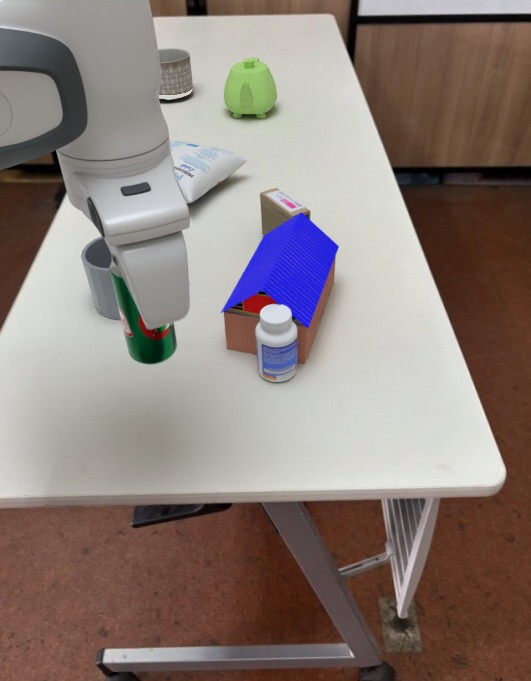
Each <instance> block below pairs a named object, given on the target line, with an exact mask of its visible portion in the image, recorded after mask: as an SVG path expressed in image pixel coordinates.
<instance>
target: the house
mask: <svg viewBox="0 0 531 681" xmlns="http://www.w3.org/2000/svg"><path fill="white" fill-rule="evenodd" d="M260 240H261V241H260V242H259V243H258V245H257V247H256V249H255V251H254V253H253V255H252V256H251V258H250V260H249V261H248V263H247V265H246V267H245V269H244V271H243V272H242V273H241V276H240V278H239V280H238V281H237V283H236V285H235V286H234V288H233V289H232V292H231V294H230V295H229V297H228V299H227V301H226V303H225V304H224V306H223V308H222V309H221V312H220V314H222V313H223V321H224V332H225V333H224V334H225V342H226V343H225V344H226V349H227V350H230V351H236V352H241V353H247V354H252V355H257V351H256V333H255V330H256V326H257V325H258V323H259V322H260V311H261V310H262V309H263V308H264V307H265V306H267V305H270V304H280V305H281V304H282V305H285V306H287V307H288V308H289V309H290V310H291V313H292V321H293V322H294V323H295V324H296V327H297V363H300V364H303V365H305V364H306V362H307V360H308V356H309V354H310V352H311V349H312V345H313V343H314V340H315V337H316V335H317V332H318V329H319V326H320V323H321V320H322V318H323V314H324V312H325V309H326V306H327V304H328V300H329V298H330V294H331V292H332V289H333V287H334V283H335V273H336V258H337V254H338V251H339V247H340V245H338V244H337V243H336V242H335V241H334V240H332V239H331V237H330V236H328V235H327V233H325V232H324V231H323V230H322V229H320V227H319V226H317V225H316V224H315V223H314V222H313V221H312V220H311V218H310V219H309V218H307V217H306V216H305V215H304V214H303V213H302V212H301V213H299V214H298V215H296V216H295V217H293V218H291V219H290V220H288V221H287V222H285V223H283V224H282V225H280V226H279V227H277V228H276V229H274V230H272V231H271V232H269V233H268V234H266V235H265V236H264V235H263V237H262V239H260ZM262 293H264V294H262Z"/></svg>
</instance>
